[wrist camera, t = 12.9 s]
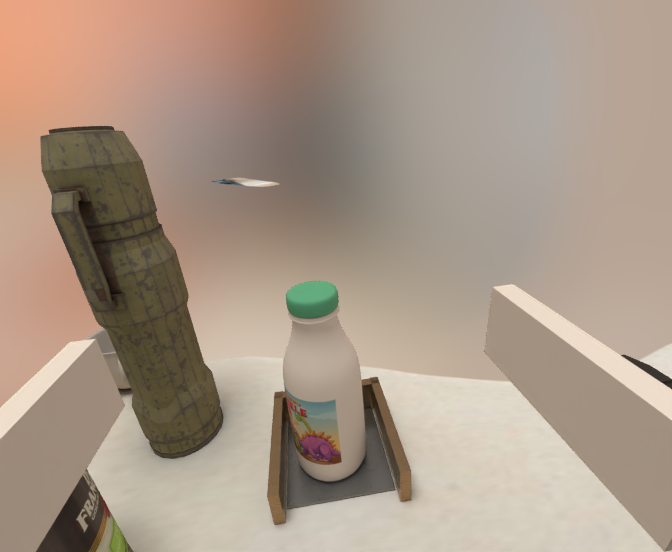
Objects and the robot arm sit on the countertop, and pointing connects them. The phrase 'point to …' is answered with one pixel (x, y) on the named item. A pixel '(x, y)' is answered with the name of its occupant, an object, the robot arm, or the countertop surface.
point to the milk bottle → (323, 385)
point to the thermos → (132, 282)
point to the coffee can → (84, 524)
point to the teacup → (111, 358)
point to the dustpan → (362, 482)
